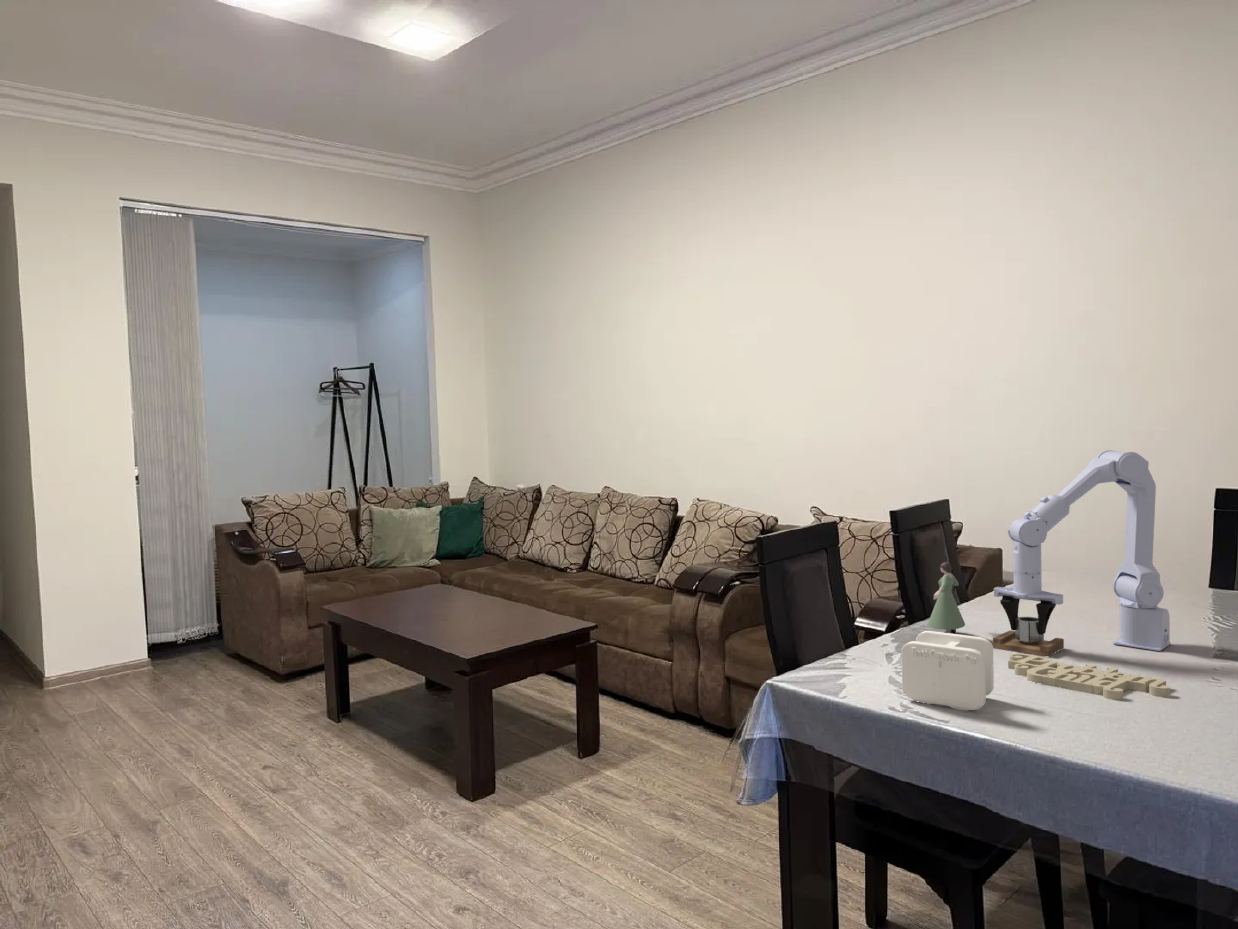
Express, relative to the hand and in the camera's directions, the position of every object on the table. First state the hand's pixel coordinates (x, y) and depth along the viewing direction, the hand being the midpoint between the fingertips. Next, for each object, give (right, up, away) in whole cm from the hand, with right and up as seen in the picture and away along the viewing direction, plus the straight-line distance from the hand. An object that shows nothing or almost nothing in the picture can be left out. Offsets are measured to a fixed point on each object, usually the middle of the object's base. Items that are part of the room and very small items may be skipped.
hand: (1028, 631), depth 196 cm
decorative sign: (-1, -6, -24) cm, 25 cm away
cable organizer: (-30, -7, -32) cm, 44 cm away
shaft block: (0, -4, 0) cm, 4 cm away
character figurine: (-13, -4, +14) cm, 19 cm away
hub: (+1, -2, +1) cm, 2 cm away
